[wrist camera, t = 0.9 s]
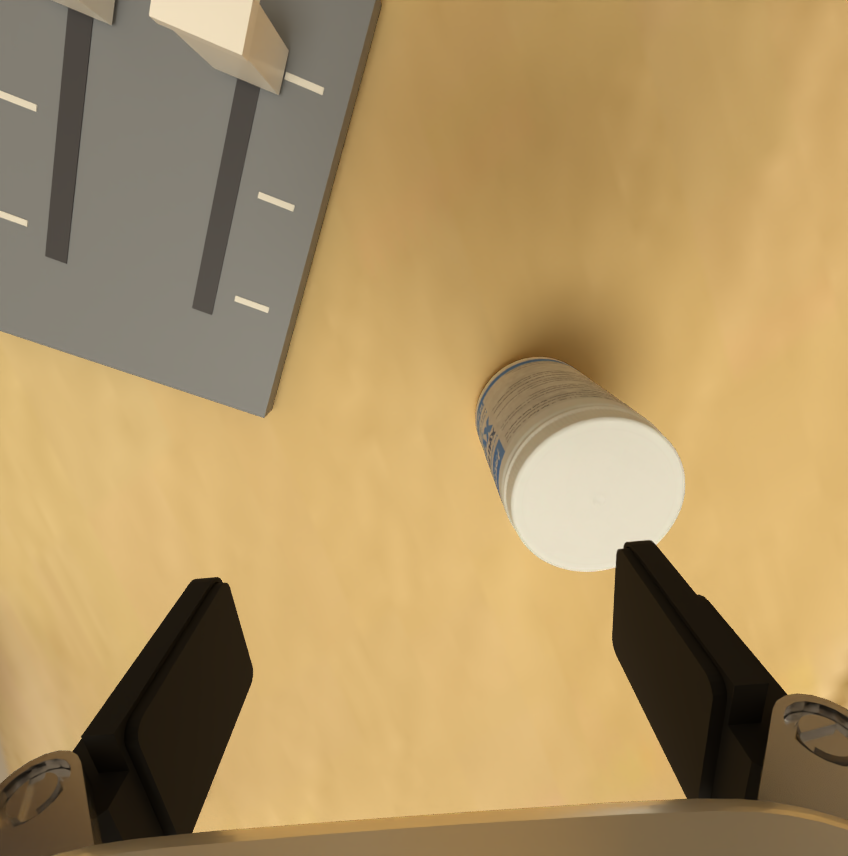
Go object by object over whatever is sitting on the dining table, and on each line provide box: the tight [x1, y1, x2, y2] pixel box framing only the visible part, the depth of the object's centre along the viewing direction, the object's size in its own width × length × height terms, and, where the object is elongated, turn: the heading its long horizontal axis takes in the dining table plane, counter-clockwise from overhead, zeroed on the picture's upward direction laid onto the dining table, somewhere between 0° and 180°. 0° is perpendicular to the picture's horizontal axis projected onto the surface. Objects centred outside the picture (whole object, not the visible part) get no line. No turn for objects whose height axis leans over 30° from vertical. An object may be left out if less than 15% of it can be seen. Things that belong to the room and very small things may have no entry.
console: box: [0, 0, 381, 418], centre depth 31 cm, size 28×22×2 cm
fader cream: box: [149, 0, 289, 95], centre depth 25 cm, size 3×4×7 cm, turn 70°
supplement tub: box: [476, 357, 685, 572], centre depth 32 cm, size 10×10×15 cm
